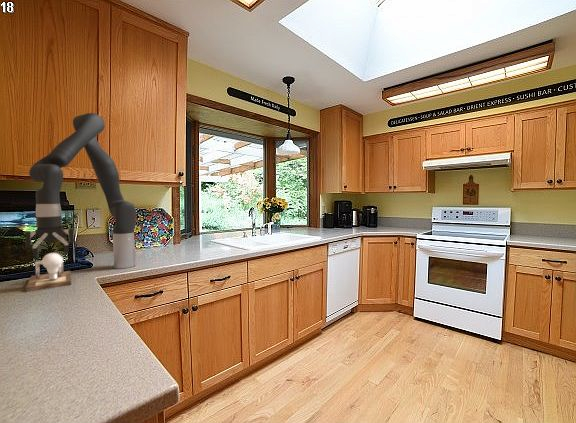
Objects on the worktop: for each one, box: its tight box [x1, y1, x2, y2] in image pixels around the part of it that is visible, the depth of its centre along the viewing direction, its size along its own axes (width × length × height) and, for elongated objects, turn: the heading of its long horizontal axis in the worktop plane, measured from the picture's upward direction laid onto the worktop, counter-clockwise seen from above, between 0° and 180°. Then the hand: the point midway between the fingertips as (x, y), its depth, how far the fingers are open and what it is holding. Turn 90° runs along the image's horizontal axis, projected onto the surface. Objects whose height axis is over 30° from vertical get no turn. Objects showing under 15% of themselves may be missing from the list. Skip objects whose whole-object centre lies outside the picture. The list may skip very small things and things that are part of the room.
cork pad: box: [35, 276, 66, 286], centre depth 108 cm, size 9×7×1 cm
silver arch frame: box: [34, 260, 65, 279], centre depth 115 cm, size 9×9×7 cm
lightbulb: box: [41, 252, 64, 280], centre depth 108 cm, size 6×6×11 cm
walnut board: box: [25, 270, 72, 292], centre depth 112 cm, size 13×20×2 cm, turn 39°
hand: (51, 256), depth 107 cm, fingers open, 8 cm apart
